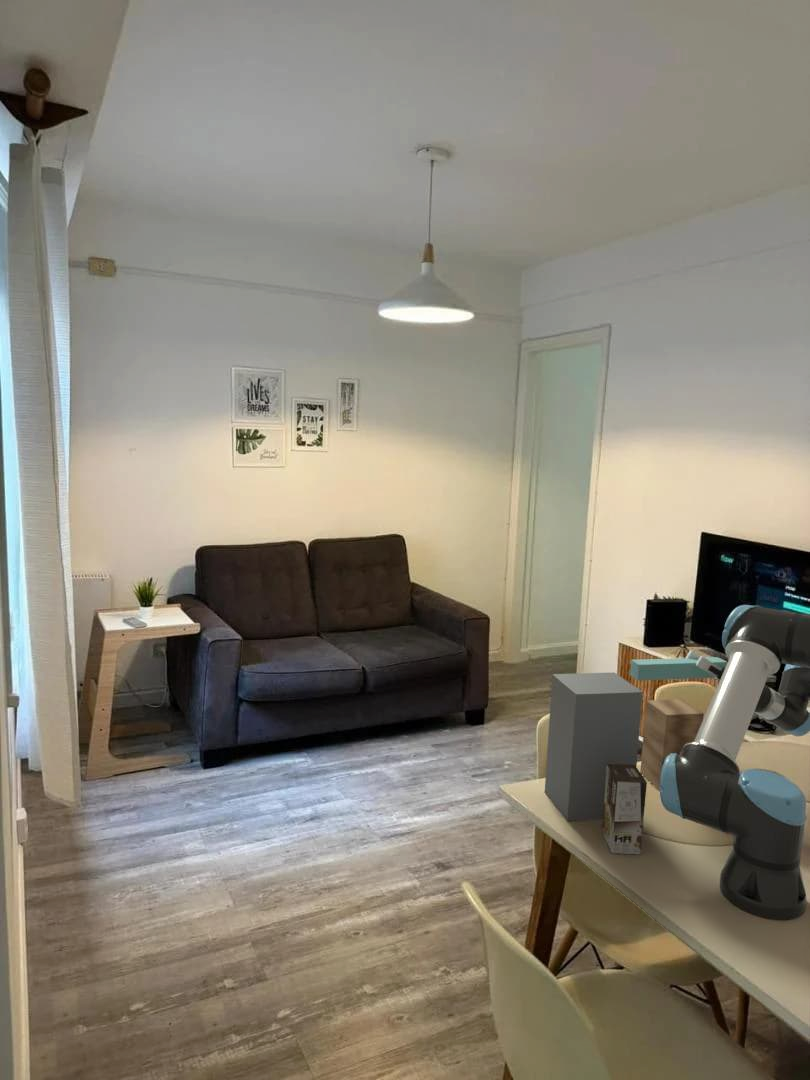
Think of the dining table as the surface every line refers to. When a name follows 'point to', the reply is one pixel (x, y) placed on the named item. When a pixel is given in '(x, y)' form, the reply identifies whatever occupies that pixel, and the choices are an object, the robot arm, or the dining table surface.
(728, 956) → the dining table surface
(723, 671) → the robot arm
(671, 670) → the teal bar
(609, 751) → the tall stand
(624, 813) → the coffee box
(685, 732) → the walnut pedestal
